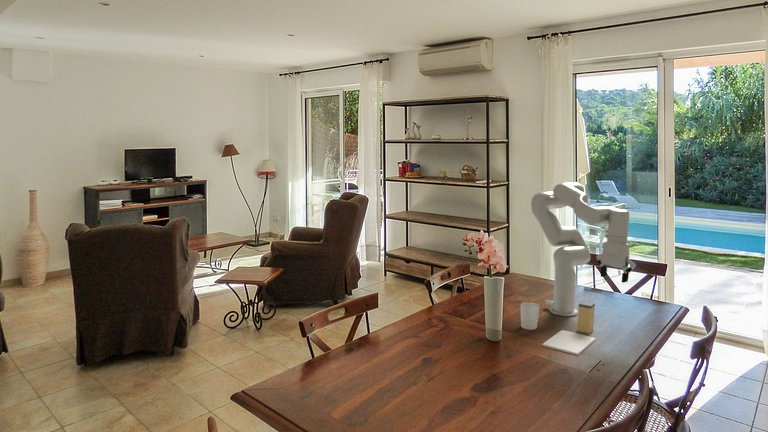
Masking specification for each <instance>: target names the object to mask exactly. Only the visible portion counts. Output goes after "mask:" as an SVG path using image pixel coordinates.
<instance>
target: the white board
mask: <svg viewBox="0 0 768 432" xmlns="http://www.w3.org/2000/svg"><path fill="white" fill-rule="evenodd" d="M596 340H597V339H596V337H593V336H588V335H584V334H580V333H576V332H573V331H568V330H564V329H561V330H560V331H558V332H557V333H555V334H554V335H552V336H551V337H550V338H548V339H547V340H546V341H545V342H543V343H542V347H545V348H549V349H553V350H557V351H559V352H564V353H568V354H571V355H575V356H579V355H580V354H581V353H582V352H584V351H585V350H586V349H587V348H588V347H589V346H590V345H592V344H593V343H594V342H595V341H596Z"/></svg>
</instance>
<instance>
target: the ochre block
mask: <svg viewBox="0 0 768 432" xmlns="http://www.w3.org/2000/svg"><path fill="white" fill-rule="evenodd" d="M595 304H596V303H595V302H590V301H585V300H582V301H580V302H579V303H578V310H577V311H578V314H577V329H576V331H577V332H581V333H584V334H591V333H592V332H593V331H594V322H595V306H596V305H595Z"/></svg>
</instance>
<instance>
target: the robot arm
mask: <svg viewBox="0 0 768 432" xmlns="http://www.w3.org/2000/svg"><path fill="white" fill-rule="evenodd" d="M588 203H589V196H588V194H587V193H585V189H584V187H583V185H581V184H580V183H579V182H561V183H558V184H555V186H554V187H553V190H552V191H540V192H538V193H536V194H534V195H533V196H532V198H531V202H530V207H531V211H532V214H533V216H534V217H535V219H536V221H537V222H538V223H539V225H540V226H541V230H542V231H543V233H544V235H545V238H546V239H547V241H548V243H549V245H550V246H552V247H555V248H556V249H555V251H554V253H553V263H554V264H553V265H554V283H553V285H554V287H553V300H550V299H545V305H546V306H550V307H549V312H550V313H551V314H554V315H557V316H561V317H574V316H578V310H577V308H575V305H576V302H575V301H576V289H577V288H576V287H577V275H576V271H575V269H574V267H579V266H584V265H587V264H588V263H589V262H590V260H591V251H590V249H589V248H588V245H587V243H586V241H585V240H584V238H583V235H582V234H581V232H580V230H579V229H577V228H576V227H575V226H572V225H564V226H563V225H562V224H561V222H560V221H559V219H558V216H557V215H555V213H553V212H552V211H551V210H550V209H555V210H556V209H562V208H565V207H570V208H571V209H573V212H574V214H575V216H576V218H578V219H579V220H580V221H583V222H584V223H586V224H589V225H591V226H599V225H607V226H608V227H607V233H606V234H605V235H604V237H605V238H606V240H605V242H604V244H603V247H602V251H601V254H597V255H596V256H595V257H596V260H597V264H598V265H599V267H600V277H601V278H602V277H607V272H608V267H607V266H609V267H613V268H616V269H621V270H622V274H621V283H627V282H628V280H629V276H630V273H631V272H632V271H633V270H634V268H635V267H636V266H637V264H636V263H635V262H634V261H633V260H631V259H630V248H629V247H630V246H629V243H628V234H629V222H630V211H628V210H627V209H623V208H622V209H621V208H618V207H617V208H616V207H614V206H609V205H607V206H591V205H590V204H588Z"/></svg>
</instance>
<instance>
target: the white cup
mask: <svg viewBox="0 0 768 432" xmlns="http://www.w3.org/2000/svg"><path fill="white" fill-rule="evenodd" d="M539 315H540V304H538V303H535V302H528V301H526V302H525V301H524V302H521V303H520V327H521V328H522V329H525V330H528V331H529V330H530V331H531V330H536V329H537V328H538V323H539Z"/></svg>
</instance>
